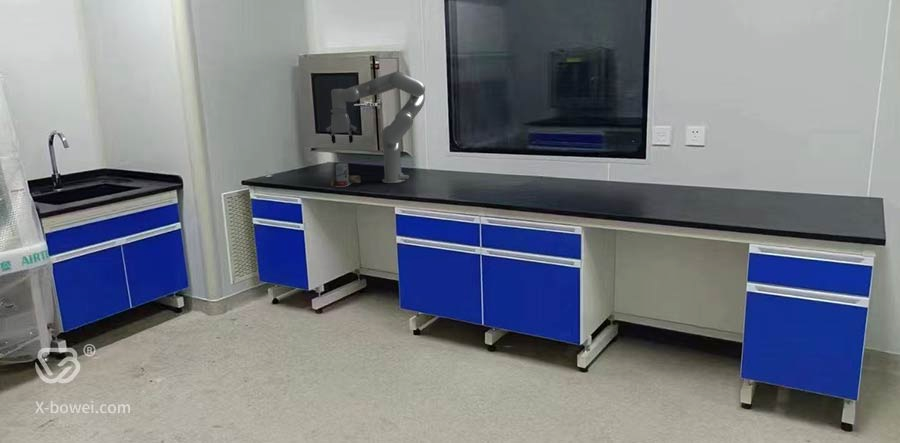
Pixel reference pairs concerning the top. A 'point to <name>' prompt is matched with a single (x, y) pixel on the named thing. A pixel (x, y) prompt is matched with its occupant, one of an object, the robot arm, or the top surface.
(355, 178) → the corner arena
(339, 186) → the pad
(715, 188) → the top surface
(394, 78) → the robot arm
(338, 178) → the ink box
